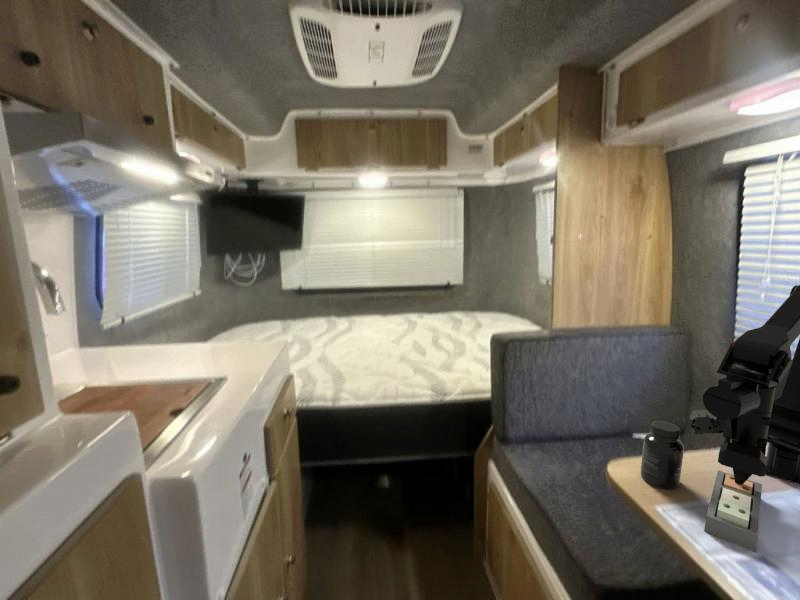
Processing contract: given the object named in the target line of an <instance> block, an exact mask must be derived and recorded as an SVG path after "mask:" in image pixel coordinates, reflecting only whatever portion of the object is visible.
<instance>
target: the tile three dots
mask: <svg viewBox="0 0 800 600" xmlns="http://www.w3.org/2000/svg"><path fill="white" fill-rule="evenodd" d="M728 474H729V473H728ZM728 474H726V477H725V481H724V486H726V487H729V488H732V489H735V490H738V491H741V492H744V493H747V494H749V495H752V487H753V482H749V481H745V482H744V483H743V484H742V485H741V484H738V483H736V482H735V479H734V476H731V475H728Z"/></svg>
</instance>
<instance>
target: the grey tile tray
mask: <svg viewBox="0 0 800 600" xmlns="http://www.w3.org/2000/svg"><path fill="white" fill-rule="evenodd" d="M726 474H728V475H731V476H734V474H731V473H729V472H724V471H723V470H722V471H721V470H717V474H716V477H715V480H714V484H713V489H712V492H711V496H710V500H709V504H708V508H707V512H706V515H705V516H706V517H705V523H704V532H706V533H708V534H711V535H713V536H716V537H718V538H721V539H722V540H725V541H727V542H731V543H732V544H735V545H738V546H741V547H742V548H744V549H745V548H746V549H747V550H749V551H753V552H756V548H757V545H758V544H757V543H758V539H759V537H758V536H759V527H760V525H759V524H760V514H761V502H762V490H763V484H762V483H759V482H757V481H753V480H750V479H747V480H746V481H749V482H753V487H752V495H749V494H747V493H744V492H741V491H738V490H735V489H732V488H729V487H726V486H724V481H725V477H726ZM723 488H726V489H729V490H732V491H734V492H737V493H740V494H743V495H746V496H749V497H751V504H750V515H749V523H748V529H746V528H744V527H741V526H738V525H736V524H733V523H731V522H728V521H725V520H723V519H720V518H717V511H718V506H719V502H720V498H721V494H722V490H723Z"/></svg>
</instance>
